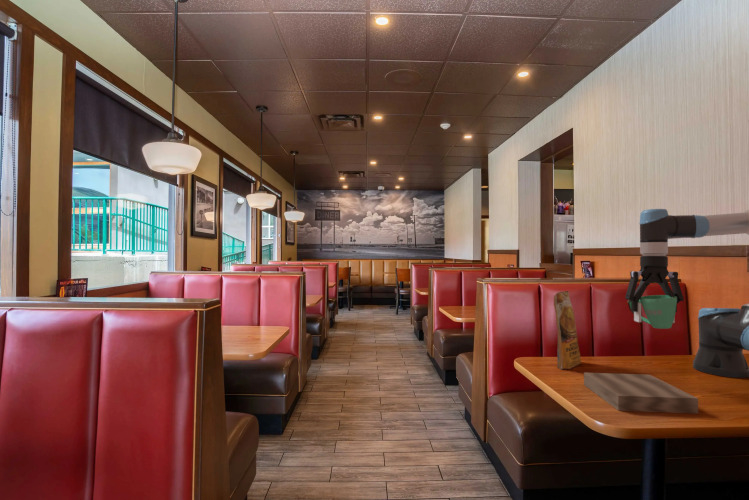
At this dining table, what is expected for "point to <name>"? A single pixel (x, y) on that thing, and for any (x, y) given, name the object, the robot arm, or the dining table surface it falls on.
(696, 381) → the dining table surface
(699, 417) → the dining table surface
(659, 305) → the mug
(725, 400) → the dining table surface
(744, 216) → the robot arm
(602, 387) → the plinth
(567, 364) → the pancake mix bag
